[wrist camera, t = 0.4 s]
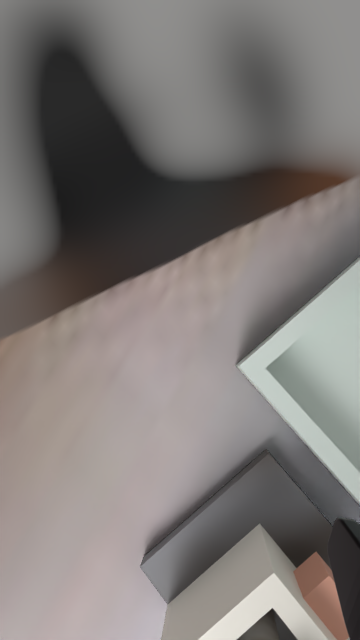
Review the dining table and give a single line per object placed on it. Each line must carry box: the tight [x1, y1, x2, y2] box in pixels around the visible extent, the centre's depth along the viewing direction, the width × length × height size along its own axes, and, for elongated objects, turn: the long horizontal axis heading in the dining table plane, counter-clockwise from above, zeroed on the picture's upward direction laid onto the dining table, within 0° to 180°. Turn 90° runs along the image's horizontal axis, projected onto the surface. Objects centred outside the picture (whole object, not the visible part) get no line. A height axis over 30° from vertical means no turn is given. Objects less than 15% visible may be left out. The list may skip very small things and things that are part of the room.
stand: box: [140, 450, 333, 640], centre depth 16 cm, size 10×10×7 cm
